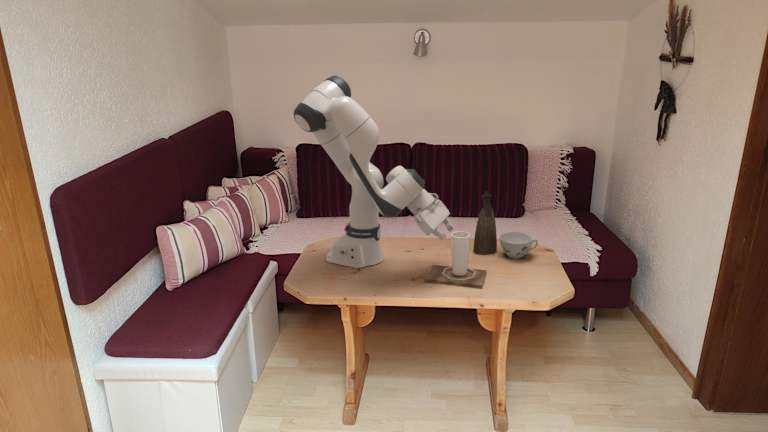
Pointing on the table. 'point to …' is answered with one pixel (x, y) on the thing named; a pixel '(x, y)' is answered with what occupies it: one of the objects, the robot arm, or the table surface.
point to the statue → (485, 229)
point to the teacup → (516, 244)
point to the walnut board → (456, 277)
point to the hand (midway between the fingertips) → (448, 234)
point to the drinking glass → (460, 252)
